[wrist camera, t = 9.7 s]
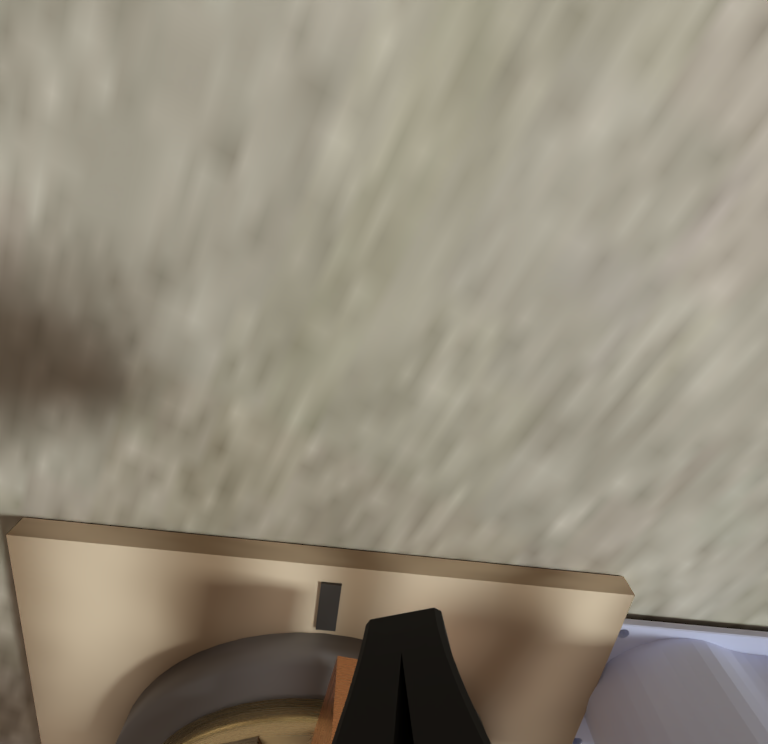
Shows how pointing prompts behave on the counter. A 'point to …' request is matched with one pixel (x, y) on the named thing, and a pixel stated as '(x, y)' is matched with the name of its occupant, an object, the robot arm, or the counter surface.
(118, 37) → the counter surface
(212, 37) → the counter surface
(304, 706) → the studded brass disc
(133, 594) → the nut base
